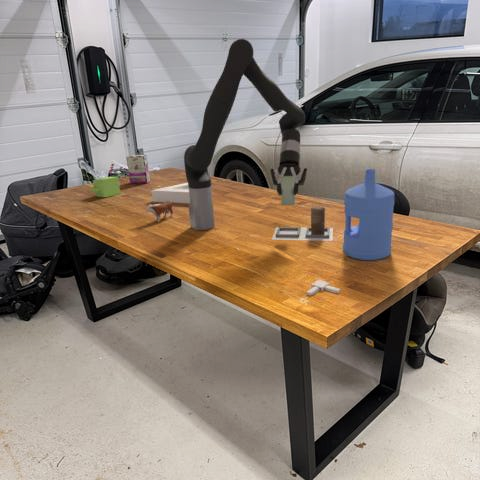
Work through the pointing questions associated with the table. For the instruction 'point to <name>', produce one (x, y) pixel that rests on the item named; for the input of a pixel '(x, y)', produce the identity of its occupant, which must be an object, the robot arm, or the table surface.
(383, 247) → the water jug
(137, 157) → the candy bar box
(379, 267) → the table surface
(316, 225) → the walnut column
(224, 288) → the table surface
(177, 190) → the triangle block
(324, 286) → the corner connector
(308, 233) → the base plate
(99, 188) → the gearbox
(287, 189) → the sage column
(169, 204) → the bull figurine
